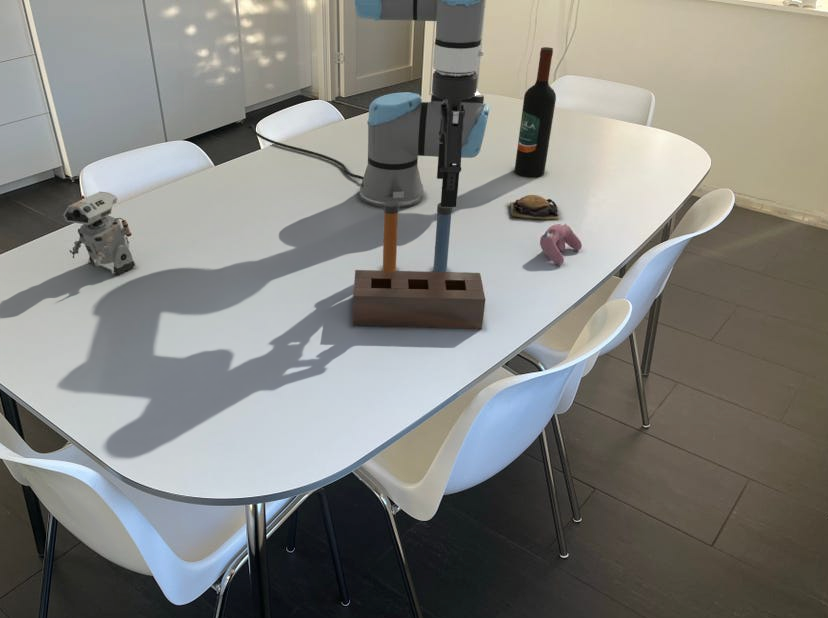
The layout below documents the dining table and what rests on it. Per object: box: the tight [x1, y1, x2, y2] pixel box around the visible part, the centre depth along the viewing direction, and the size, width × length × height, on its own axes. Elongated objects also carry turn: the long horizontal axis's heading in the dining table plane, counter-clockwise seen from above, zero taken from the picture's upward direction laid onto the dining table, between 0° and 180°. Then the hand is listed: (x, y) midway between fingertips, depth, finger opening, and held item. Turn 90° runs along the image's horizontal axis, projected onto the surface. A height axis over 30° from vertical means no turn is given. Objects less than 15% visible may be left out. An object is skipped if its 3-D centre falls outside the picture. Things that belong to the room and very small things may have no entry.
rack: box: [352, 269, 486, 330], centre depth 130 cm, size 10×22×6 cm, turn 87°
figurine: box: [62, 191, 136, 276], centre depth 141 cm, size 9×12×15 cm
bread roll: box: [509, 194, 559, 221], centre depth 167 cm, size 11×8×4 cm
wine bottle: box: [514, 46, 557, 179], centre depth 180 cm, size 8×8×30 cm
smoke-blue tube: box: [432, 202, 453, 272], centre depth 140 cm, size 3×3×14 cm
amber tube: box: [382, 201, 400, 271], centre depth 141 cm, size 3×3×14 cm
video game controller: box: [539, 223, 583, 266], centre depth 149 cm, size 10×5×7 cm, turn 141°
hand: (446, 191), depth 135 cm, fingers open, 13 cm apart
